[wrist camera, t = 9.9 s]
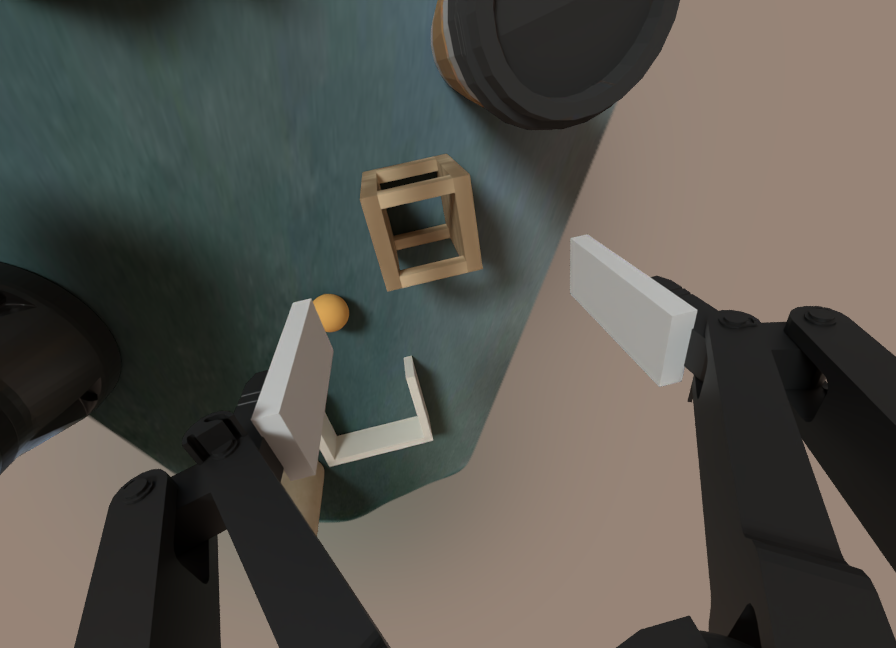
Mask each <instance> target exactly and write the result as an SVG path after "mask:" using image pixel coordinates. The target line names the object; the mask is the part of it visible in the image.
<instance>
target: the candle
mask: <svg viewBox="0 0 896 648" xmlns="http://www.w3.org/2000/svg"><path fill="white" fill-rule="evenodd" d="M323 482H324V468H323V466H322V464H321V463H320V462H319V461H318V462H317V469H316V475H313V476H309V477H306V478H302V479H298V480H294V481H291V480H290V479H289V477H288V476H287V474H286V473H285V471H284V470H283V475H282V479H281V484H282V485H283V487H284V488H285V489H286V491H287V493H288V494H289V496H290V497H291V499H292V500H293V502H294V503H295V505H296V506H297V508H298V509H299V511H300V512H301V514H302V515H303V517H304V518H305V520H306V521H307V523H308V524H309V526H310V527H311V529H312V530H313V532H314V533H315V535H316V536H317V532H318V524H319V515H320V507H321V499H322V490H323Z"/></svg>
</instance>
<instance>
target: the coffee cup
mask: <svg viewBox="0 0 896 648" xmlns="http://www.w3.org/2000/svg"><path fill="white" fill-rule="evenodd" d="M679 2H680V0H438V1H437V5H436V10H435V13H434V17H433V22H432V26H431V48H432V53H433V57H434V61H435V64H436V66H437V68H438V70H439V72H440V75H441V76H442V77H443V79H444V80H445V81H446V82H447V83H448V85H449V86H450V87H452V88H453V89H454V90H456V91H457V92H459V93H460V94H461V95H463V96H464V97H466V98H467V99H469V100H471V101H473V102H474V103H476V104H478V105H480V106H482V107H484V108H485V109H487V110H488V111H490V112H491V113H492V114H494V115H495V116H497V117H498V118H499V119H501V120H502V121H504V122H505V123H508V124H511V125H514V126H517V127H520V128H523V129H527V130H552V129H564V128H568V127H571V126H574V125H577V124H581V123H584V122H587V121H589V120H590V119H592V118H594V117H595V116H597V115H598V114H600V113H602V112H603V111H605V110H606V109H608V108H610V107H611V106H612V105H613V104H614V103H615V102H617V101H618V100H620V99H622V98H623V96H625V95H626V94H627V93H628V92H629V91H630V90H631V89H632V88H633V87H634V86H635V85H636V84H637V83H638V82H639V81H640V80H641V79H642V78H643V76H644V75H645V73H646V72H647V71H648V69H649V68H650V66H651V65H652V63H653V62H654V60H655V59H656V57H657V56H658V55H659V53H660V52H661V50H662V47H663V45H664V43H665V41H666V38H667V36H668V34H669V32H670V30H671V27H672V25H673V23H674V21H675V18H676V14H677V10H678V6H679Z"/></svg>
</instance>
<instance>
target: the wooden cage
mask: <svg viewBox="0 0 896 648" xmlns="http://www.w3.org/2000/svg"><path fill="white" fill-rule="evenodd" d="M434 171H436V172H437V177H438V178H434V179H429V180H425V181H420V182H416V183H411V184H407V185H403V186H398V187H394V188H389V189H385V190H381V187H380V184H381V183H385V182H390V181H394V180H399V179H403V178H408V177H412V176H416V175H421V174H425V173H430V172H434ZM437 196H441V199H442V205H443V210H444V216H445V221H446V224H443V225H438V226H434V227H430V228H425V229H421V230H417V231H412V232H408V233H404V234H399V235H395V236H393V232H392V228H391V224H390V221H389V217H388V213H387V209H386V208H389V207H393V206H398V205H402V204H406V203H411V202H415V201H420V200H424V199H429V198H433V197H437ZM360 202H361V205H362V208H363V212H364V215H365V218H366V222H367V225H368V228H369V232H370V235H371V238H372V242H373V245H374V248H375V252H376V255H377V258H378V262H379V265H380V268H381V272H382V275H383V278H384V282H385V285H386V288H387V291H392V290H396V289H400V288H404V287H409V286H413V285H417V284H421V283H425V282H430V281H434V280H438V279H442V278H447V277H451V276H455V275H459V274H463V273H468V272H472V271H476V270H480V269H483V267H482V260H481V253H480V245H479V238H478V231H477V223H476V216H475V209H474V202H473V194H472V187H471V180H470V174H469V173H468V172H466V171H465V170H464V169H463V168H462V167H461V166H460V165H459V164H458V163H457V162H455V161H454V160H453V159H452V158H451V157H450V156H449V155H448V154H443V155H438V156H434V157H429V158H425V159H420V160H416V161H411V162H407V163H402V164H398V165H393V166H389V167H384V168H380V169H375V170H371V171H366V172H363V174H362V183H361V193H360ZM447 238H451V240H452V242H453V244H454V246H455V248H456V250H457V252H458V254H459V257H455V258H451V259H446V260H442V261H438V262H433V263H429V264H425V265H421V266H416V267H412V268H408V269H404V270H400V268H399V262H398V255H397V250H400V249H404V248H408V247H413V246H417V245H421V244H426V243H430V242H434V241H439V240H443V239H447Z"/></svg>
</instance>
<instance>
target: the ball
mask: <svg viewBox="0 0 896 648" xmlns="http://www.w3.org/2000/svg"><path fill="white" fill-rule="evenodd" d="M313 304H314V306H315V308H316V311H317V313H318V315H319V318H320V320H321V322H322V325H323V327H324V329H325V332H334V331H337V330H339V329H341V328H342V327H343V326H344V325H345V324H346V322H347V321H348V318H349V309H348V306H347V304H346V302H345V301H344V300H343V299H342V298H341V297H339V296H337V295H334V294H324V295H321V296H319V297H317V298H316V299H315V300H314V301H313Z"/></svg>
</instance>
